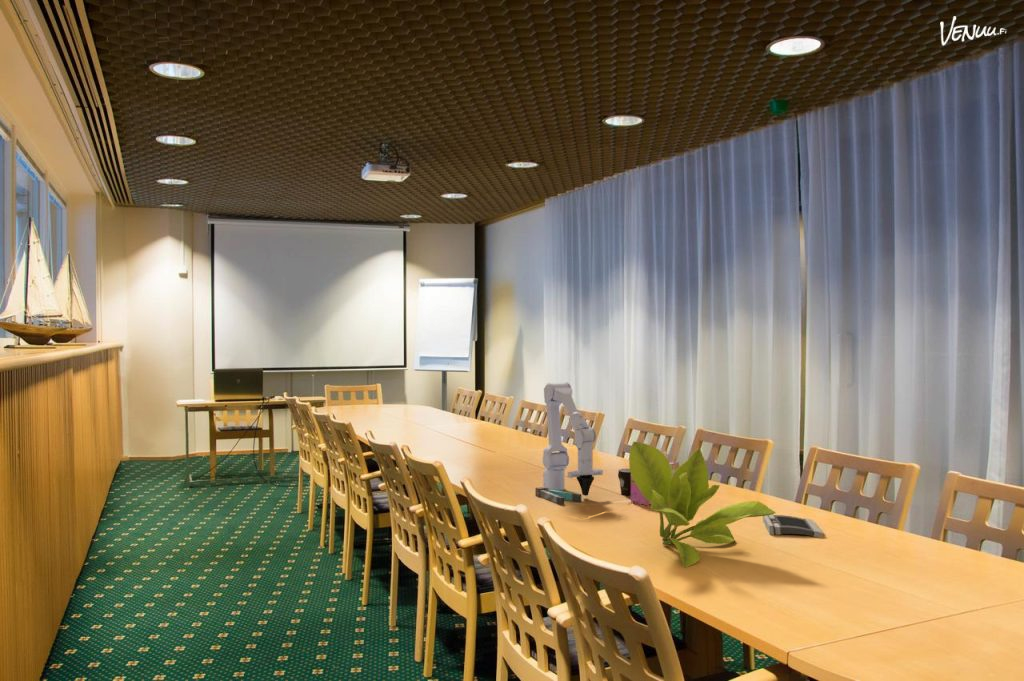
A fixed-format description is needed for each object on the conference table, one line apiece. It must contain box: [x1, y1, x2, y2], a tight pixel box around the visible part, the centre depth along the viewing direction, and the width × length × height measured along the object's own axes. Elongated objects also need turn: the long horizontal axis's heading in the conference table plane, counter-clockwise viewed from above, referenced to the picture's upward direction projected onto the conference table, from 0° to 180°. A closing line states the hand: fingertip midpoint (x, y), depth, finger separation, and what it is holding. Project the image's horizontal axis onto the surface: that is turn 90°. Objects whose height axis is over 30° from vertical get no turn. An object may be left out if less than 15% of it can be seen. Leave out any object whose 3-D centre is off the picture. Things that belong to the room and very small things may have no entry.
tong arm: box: [549, 490, 582, 503], centre depth 288 cm, size 14×2×3 cm, turn 51°
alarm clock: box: [762, 514, 824, 538], centre depth 245 cm, size 17×5×16 cm
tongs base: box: [534, 486, 565, 506], centre depth 288 cm, size 19×4×4 cm, turn 26°
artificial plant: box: [628, 441, 777, 568], centre depth 224 cm, size 42×43×30 cm
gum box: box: [630, 461, 680, 506], centre depth 291 cm, size 24×8×14 cm, turn 136°
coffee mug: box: [617, 467, 631, 498], centre depth 299 cm, size 12×9×10 cm
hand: (585, 495), depth 289 cm, fingers closed
